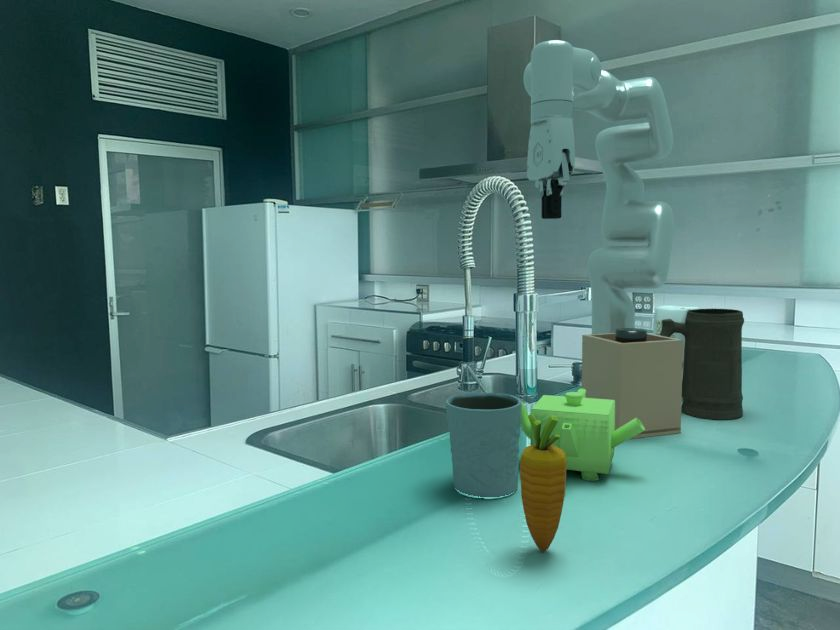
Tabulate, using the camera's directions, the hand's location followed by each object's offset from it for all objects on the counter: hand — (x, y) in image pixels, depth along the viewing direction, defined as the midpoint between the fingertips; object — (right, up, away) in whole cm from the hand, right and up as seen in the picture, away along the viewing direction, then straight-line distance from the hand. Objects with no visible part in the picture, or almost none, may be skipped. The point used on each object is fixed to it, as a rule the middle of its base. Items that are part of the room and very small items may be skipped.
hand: (551, 218), depth 117 cm
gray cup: (-15, -41, -31) cm, 53 cm away
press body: (+13, -37, -2) cm, 40 cm away
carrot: (-11, -43, -49) cm, 66 cm away
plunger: (+13, -36, -4) cm, 38 cm away
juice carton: (+30, -35, +19) cm, 50 cm away
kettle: (-2, -40, -23) cm, 46 cm away
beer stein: (+29, -37, +5) cm, 47 cm away
